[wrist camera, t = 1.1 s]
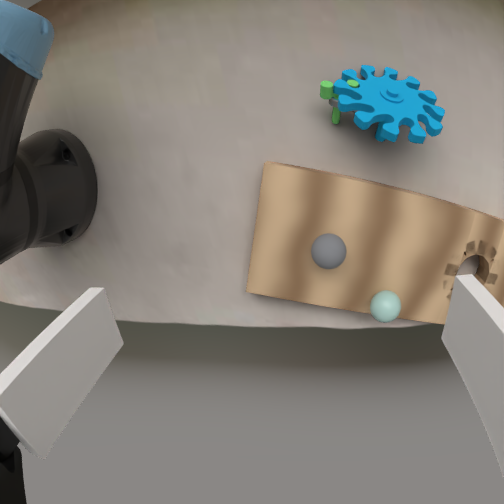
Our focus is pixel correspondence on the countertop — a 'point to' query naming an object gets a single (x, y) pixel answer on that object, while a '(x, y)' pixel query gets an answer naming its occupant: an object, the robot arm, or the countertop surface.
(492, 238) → the board
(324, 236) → the grey ball
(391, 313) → the teal ball
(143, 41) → the countertop surface
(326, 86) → the gear
